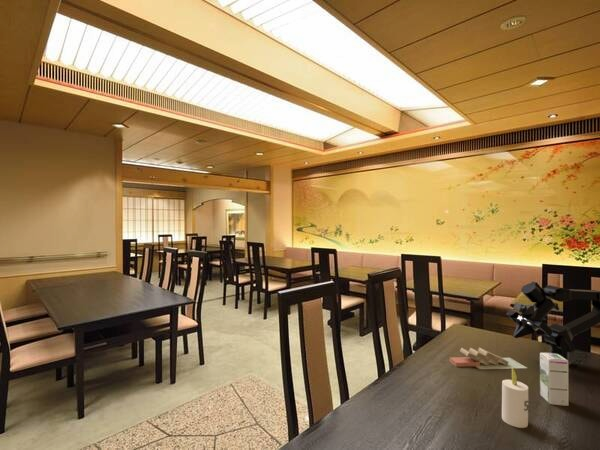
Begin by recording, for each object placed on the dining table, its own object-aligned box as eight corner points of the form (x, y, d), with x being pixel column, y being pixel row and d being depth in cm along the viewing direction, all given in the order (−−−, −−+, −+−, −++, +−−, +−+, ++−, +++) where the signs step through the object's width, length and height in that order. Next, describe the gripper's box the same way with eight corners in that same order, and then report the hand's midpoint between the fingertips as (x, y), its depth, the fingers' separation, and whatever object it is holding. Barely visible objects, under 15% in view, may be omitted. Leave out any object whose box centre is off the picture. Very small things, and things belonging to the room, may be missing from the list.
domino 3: (490, 357, 134) (470, 347, 133) (499, 362, 129) (477, 352, 128) (489, 360, 134) (468, 351, 133) (497, 365, 129) (476, 356, 128)
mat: (509, 358, 137) (509, 357, 137) (527, 368, 127) (527, 368, 127) (464, 359, 136) (464, 358, 136) (479, 369, 126) (479, 369, 126)
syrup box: (569, 406, 101) (569, 360, 101) (548, 404, 102) (548, 358, 102) (558, 396, 106) (559, 353, 106) (538, 394, 107) (539, 351, 107)
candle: (519, 430, 88) (520, 376, 88) (496, 417, 94) (497, 366, 94) (533, 425, 91) (534, 372, 91) (510, 412, 97) (511, 363, 97)
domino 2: (482, 357, 134) (461, 347, 133) (490, 362, 129) (468, 352, 128) (480, 360, 134) (459, 351, 133) (488, 366, 129) (466, 356, 128)
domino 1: (472, 357, 133) (449, 357, 133) (480, 362, 128) (456, 362, 128) (472, 360, 133) (449, 361, 133) (480, 366, 128) (456, 366, 128)
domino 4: (500, 356, 134) (479, 347, 134) (508, 362, 129) (487, 352, 129) (498, 360, 134) (477, 350, 133) (507, 365, 129) (485, 355, 128)
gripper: (510, 291, 142) (486, 317, 141) (545, 302, 123) (518, 331, 122) (527, 309, 142) (503, 334, 141) (564, 322, 123) (537, 351, 123)
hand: (514, 337), depth 132 cm, fingers closed
